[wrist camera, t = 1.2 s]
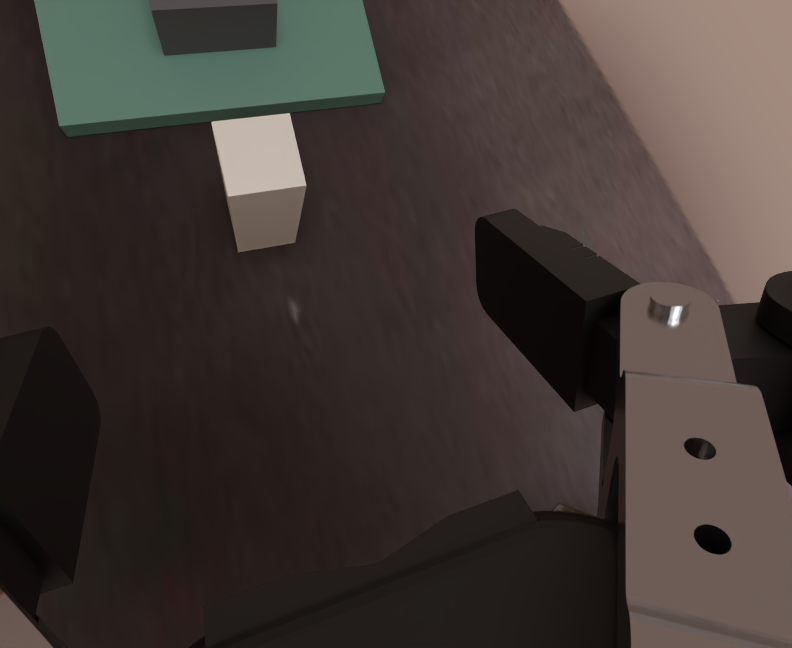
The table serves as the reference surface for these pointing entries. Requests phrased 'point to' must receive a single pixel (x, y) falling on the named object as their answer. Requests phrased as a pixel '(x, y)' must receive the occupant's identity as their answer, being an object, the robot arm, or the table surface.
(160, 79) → the header board
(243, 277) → the table surface
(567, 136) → the table surface
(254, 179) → the keyed plug
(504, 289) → the robot arm
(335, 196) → the table surface
